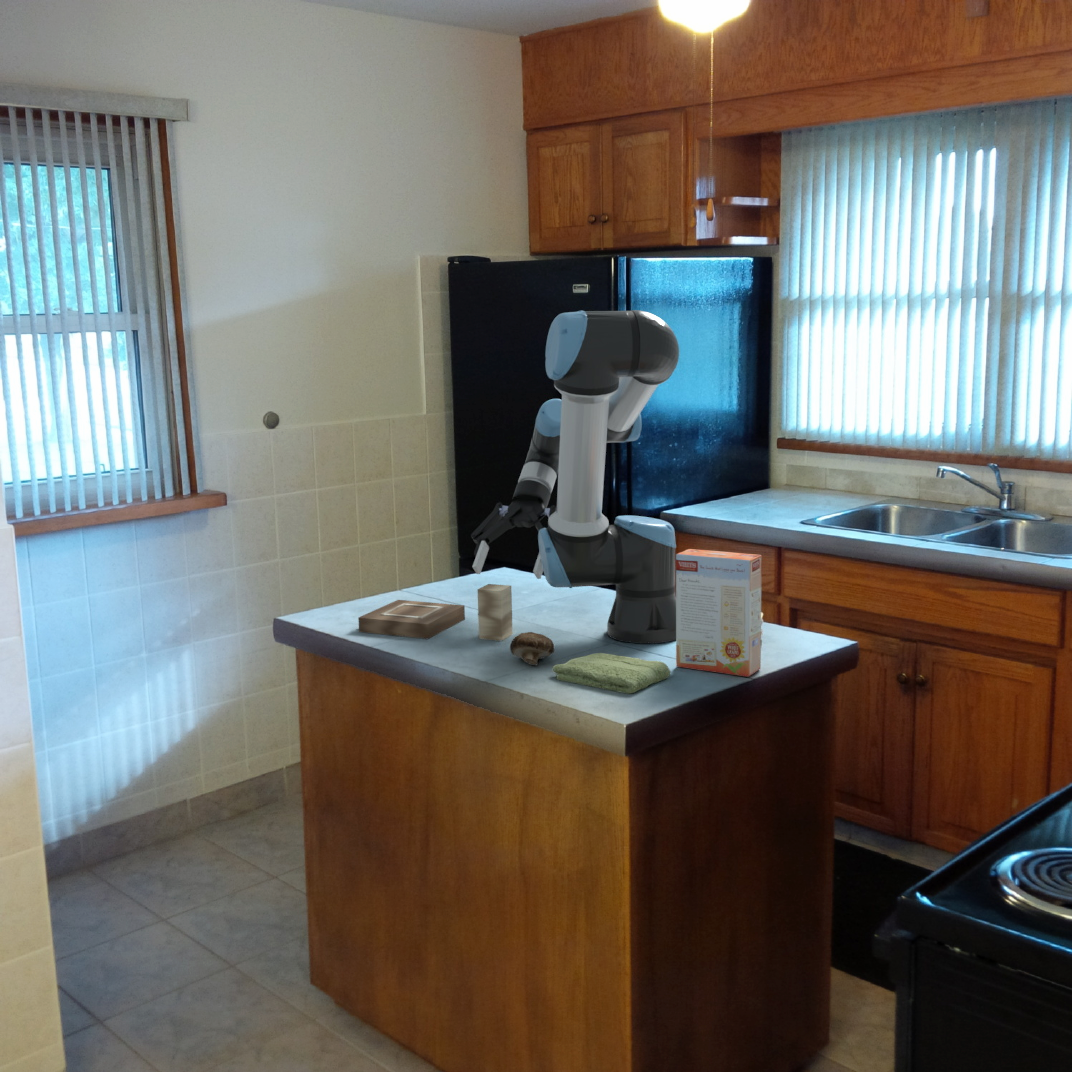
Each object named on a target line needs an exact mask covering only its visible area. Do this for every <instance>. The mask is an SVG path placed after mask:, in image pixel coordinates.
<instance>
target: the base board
mask: <svg viewBox="0 0 1072 1072" xmlns="http://www.w3.org/2000/svg"><path fill="white" fill-rule="evenodd" d="M465 606H466V605H463V604H452V603H442V602H441V603H440V602H429V601H428V602H427V601H417V600H416V601H415V600H407V599H405V600H404V599H396V600H395V601H392V602H390V603H387V604H386V605H383V606H381V607H379V608H377V609H374V610H372V611H370V612H368V613H365V614H363V615H361V616H359V617H358V618H357V619H358V633H364V634H366V633H367V634H376V635H387V636H397V637H406V638H418V639H426V640H427V639H428V640H429V639H430V638H431V639H432V638H433V637H435V636H437V635H438V634H440V633H442V632H444V631H446V630H447V629H450V628H451V627H454V626H455V625H457V624H458V623H461V622H462V621H464V620H465V619H466V615H465V614H466V612H465V611H466V609H465Z"/></svg>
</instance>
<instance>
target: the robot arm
mask: <svg viewBox="0 0 1072 1072" xmlns="http://www.w3.org/2000/svg"><path fill="white" fill-rule="evenodd" d="M546 338H547V339H546V345H545V356H544V357H545V361H544V363H545V366H544V367H545V372H546V375H547V377H548V379H550V380H552V381H553V387H554V388H555V390H557V391H558V392H559V393H560V394H561V399H560V398H552V399H549V400H546V401H545V402H544V403H542V405H541V406H540V407H539V410H538V413H537V415H536V418H535V424H534V429H533V434H532V437H531V441H530V444H529V445H530V446H529V450H528V452H527V455H526V459H525V462H524V464H523V467H522V469H521V473H520V474H519V475H520V476H519V478H518V480H517V484H516V487H515V489H514V493H513V496H512V500H511V503H510V504H509V505H503V504H502V502H500V501H499V502H497V503H496V504H495V506H494V508H493V510H492V512H491V513H490V514H488V516H486V518H485V519H484V520H483V521H482V522H481V523H480V525H478V527H477V528H476V529H474V531H473V532H472V533H471V534H470V538H472V540H473V542H474V543H475V545H476V546H475V549H474V552H473V555H474V557H475V559H474V561H473V563H472V566H471V567H472V569H473V570H474V572H475V574H477V575H481V573H482V570H483V567H484V564H485V561H486V559H487V556H488V552H489V550H490V546H489V545H490V544H491V543H492V542H493V541H495V540H496V539H498V538H499V537H500V536H502V535H503V534H505V532H507V531H508V530H512V529H513V528H515V527H517V528H523V527H525V528H531V527H534V526H535V528H536V530H537V532H538V534H537V540H538V549H539V552H538V555H537V557H536V558H537V559H536V560H535V563H534V567H533V570H532V573H533V574H534V576H535V577H536V579H538V580H539V579H540V580H541V579H542V576H543V574H544V577H545V579H546V582H547V583H548V585H549V586H551V587H552V588H569V589H573V588H579V587H581V588H583V587H592V586H594V587H595V586H608V585H609V586H610V585H615V598H614V600H613V604H612V607H611V610H610V614H609V615H608V616H609V617H608V620H607V626H606V627H607V629H606V630H607V632H606V633H607V636H609V637H610V638H611V639H614V640H616V641H621V642H625V643H633V644H659V643H667V642H673V641H675V640H676V548H677V544H676V536H675V535H676V534H675V531H676V530H675V528H674V526H673V525H672V524H671V523H670V522H668V521H667V520H663V519H659V518H654V517H650V516H649V517H647V516H643V515H641V516H639V515H630V514H629V515H628V514H627V515H626V514H625V515H618V516H616V517H615V520H614V523H613V524H610V523H609V519H608V517H607V516H605V515H604V514H603V513H602V510H603V498H604V486H605V485H604V481H605V468H606V466H605V465H606V455H607V453H606V452H607V444H608V443H609V444H610V443H621V444H622V443H627V442H634V441H637V440H639V438H640V436H641V432H642V429H643V428H642V425H643V424H642V415H641V412H643V409H644V408H645V406H646V405H647V404H648V402H649V400H650V398H652V395H653V394H654V392H655V391H656V389H657V388H658V386H659V385H661V384H663V383H665V382H666V381H667V380H668V379H670V377H671V376H672V375H673V373H674V372H675V370H676V368H677V366H678V363H679V358H680V347H679V342H678V339H677V337H676V334H675V333H674V331H673V330H672V328H671V327H670V326H669V324H667V322H665V320H663V319H662V318H661V317H659V316H657V315H655V314H653V313H651V312H649V311H646V310H645V311H644V310H639V309H637V310H636V309H633V310H632V309H631V310H593V311H592V310H588V311H587V310H586V311H585V310H578V311H569V312H562V313H559V314H558V315H557V316H556V317H555V318H554V319H553V321H552V322H551V324H550V327H549V329H548V334H547V337H546ZM556 480H557V490H556V491H557V492H556V494H557V495H556V496H557V497H556V505H554V504H553V505H550V507H548V505H549V502H550V499H551V495H552V492H553V489H554V486H555V483H556ZM546 516H547V517H548V519H547V520H548V521H547V527H544V526H543V524H542V523H541V520H542V519H544V518H545V517H546ZM510 520H511V522H510Z"/></svg>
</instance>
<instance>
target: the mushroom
mask: <svg viewBox="0 0 1072 1072" xmlns="http://www.w3.org/2000/svg"><path fill="white" fill-rule="evenodd" d="M554 644H555V643H554V642H553V640H552V638H549V637H548V636H546V635H544V634H541V633H538V632H537V633H536V632H533V631H528V632H521V633H520V634H517V635H515V636H514V637H513V638H512V640H511V642H510V645H509V649H510V653H511V654H512V655H513V656H514V657H516V658H519V659H522V660H523V662H525V663H527V664H529V665H533V666H538V660H540V659H545V658H549V657H550V656H552V655H553V653H554V651H555V645H554Z"/></svg>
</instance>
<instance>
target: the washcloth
mask: <svg viewBox="0 0 1072 1072" xmlns="http://www.w3.org/2000/svg"><path fill="white" fill-rule="evenodd" d="M552 672H553V673H554V674H556V679H557V680H558V681H561V682H562V681H563V682H566V683H567V682H568V683H573V684H577V685H583V686H586V687H587V686H588V687H593V688H598V689H603V690H608V691H613V692H619V693H624V694H635V693H636V692H638V691H640V690H643V689H645V688H646V689H647V688H648V686H649V685H653V684H657V683H658V682H661V681H663V680H667V678H668V677H670V675H671V670H670V668H669V667H668V665H667V664H666V663H665V662H664V661H661V660H646V659H645V660H644V659H641V658H640V657H630V656H624V655H618V654H617V655H616V654H610V653H605V652H597V653H591V654H588V655H583V656H579V657H575V658H571V659H569V660H568V661H567V662H565V663H561V664H560V663H559V664H555V665H553V666H552Z"/></svg>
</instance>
